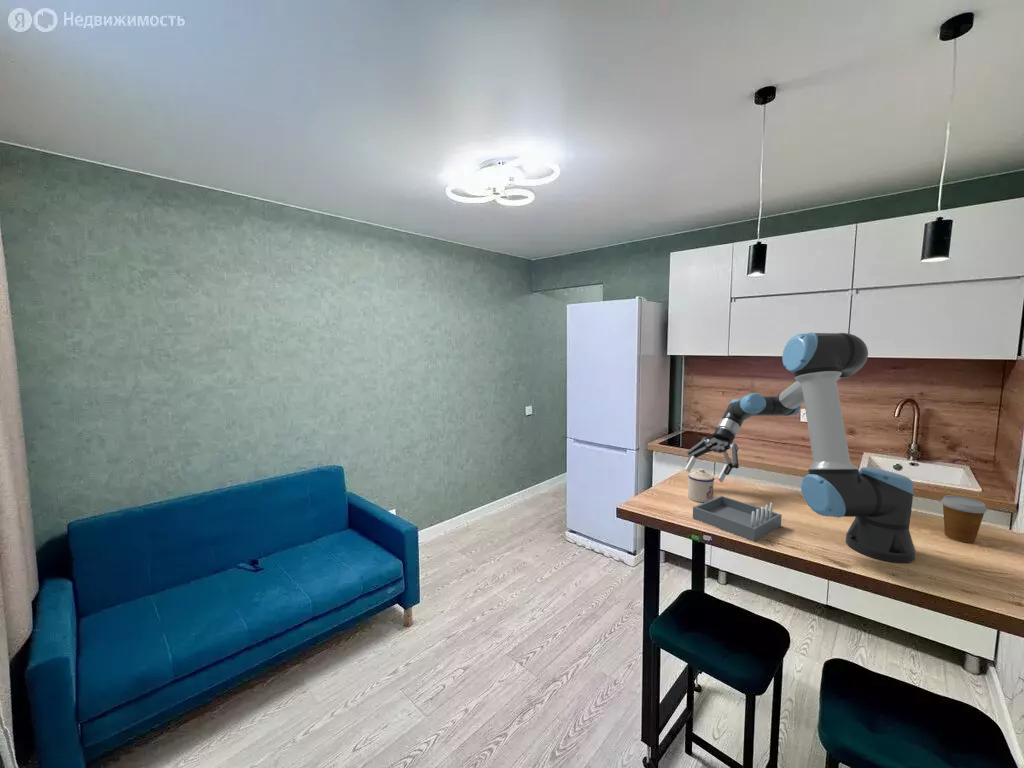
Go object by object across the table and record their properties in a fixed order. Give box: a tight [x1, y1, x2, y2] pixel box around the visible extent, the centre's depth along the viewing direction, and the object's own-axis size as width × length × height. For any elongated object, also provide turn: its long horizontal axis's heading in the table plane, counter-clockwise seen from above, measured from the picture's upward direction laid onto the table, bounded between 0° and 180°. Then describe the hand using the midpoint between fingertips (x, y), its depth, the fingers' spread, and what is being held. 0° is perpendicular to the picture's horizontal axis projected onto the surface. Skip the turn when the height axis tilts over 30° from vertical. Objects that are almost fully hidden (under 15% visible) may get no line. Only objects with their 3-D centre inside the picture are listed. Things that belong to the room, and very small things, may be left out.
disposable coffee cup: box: [940, 494, 988, 544], centre depth 127 cm, size 10×10×12 cm
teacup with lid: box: [687, 468, 715, 503], centre depth 160 cm, size 12×9×12 cm
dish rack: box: [692, 495, 783, 543], centre depth 138 cm, size 20×18×8 cm
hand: (702, 475), depth 161 cm, fingers open, 13 cm apart
